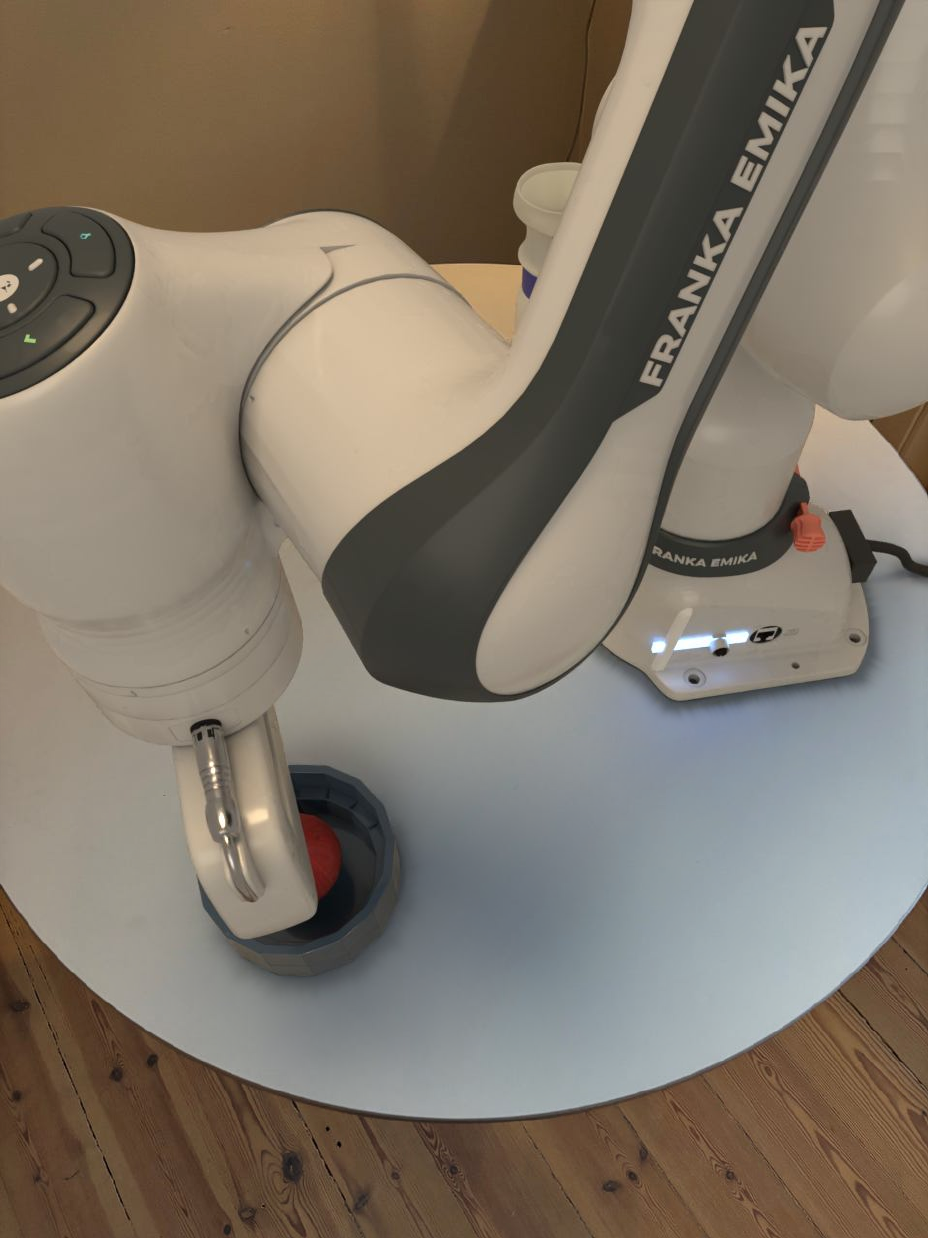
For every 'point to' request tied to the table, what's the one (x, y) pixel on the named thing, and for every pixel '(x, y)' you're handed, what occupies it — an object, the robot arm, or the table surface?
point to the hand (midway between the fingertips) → (264, 773)
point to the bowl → (356, 896)
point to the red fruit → (322, 852)
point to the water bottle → (539, 219)
